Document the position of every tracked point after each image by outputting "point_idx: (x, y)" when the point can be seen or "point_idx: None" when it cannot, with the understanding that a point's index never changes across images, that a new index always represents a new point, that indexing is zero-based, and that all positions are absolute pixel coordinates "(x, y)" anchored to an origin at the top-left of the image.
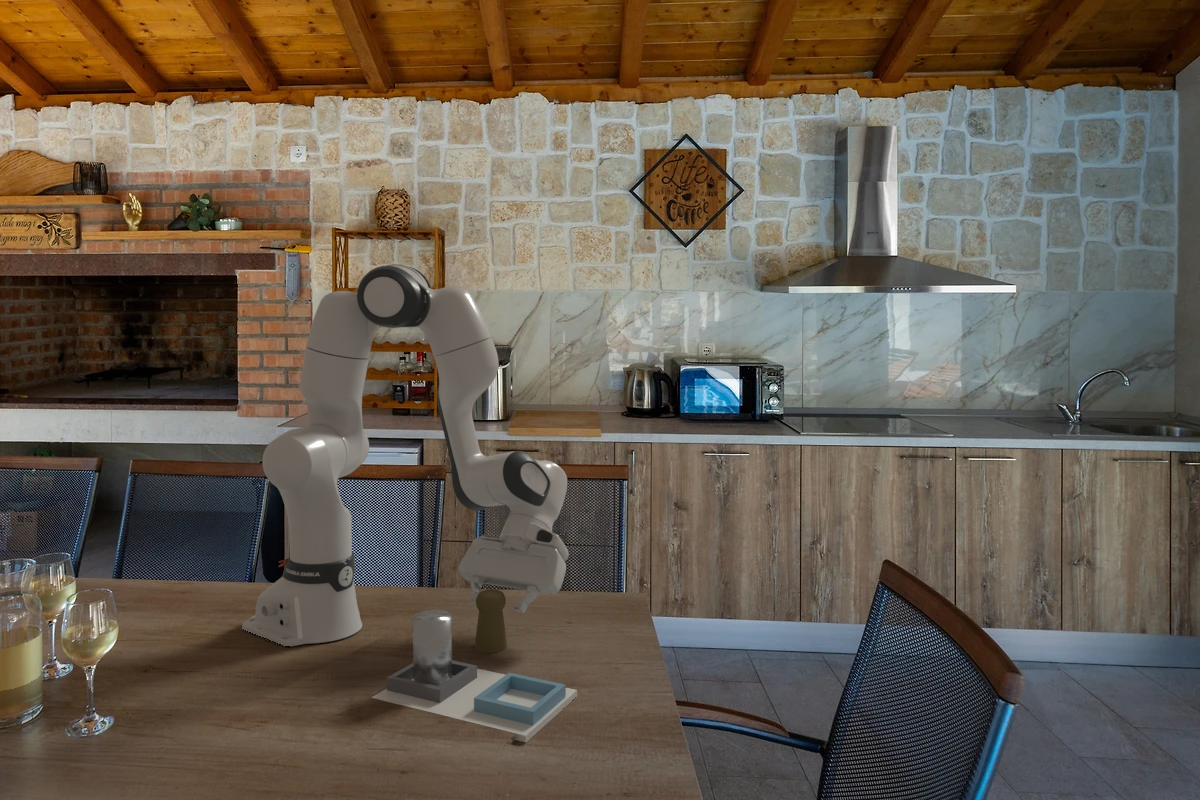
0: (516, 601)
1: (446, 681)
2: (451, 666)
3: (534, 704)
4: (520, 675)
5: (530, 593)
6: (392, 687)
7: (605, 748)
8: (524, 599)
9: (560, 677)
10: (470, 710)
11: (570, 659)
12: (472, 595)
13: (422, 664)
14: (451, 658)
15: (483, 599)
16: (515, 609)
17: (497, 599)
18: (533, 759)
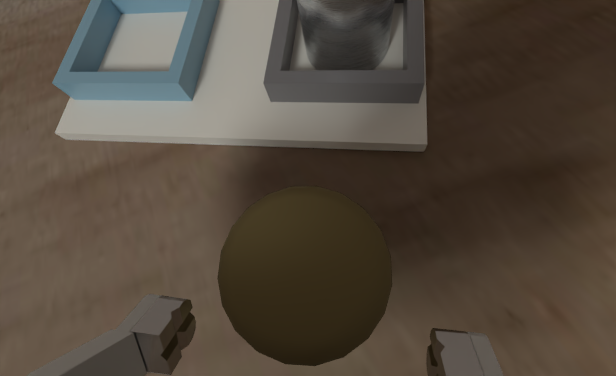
0: (168, 319)
1: (291, 2)
2: (301, 24)
3: (125, 57)
4: (149, 80)
5: (55, 361)
6: None
7: (20, 23)
8: (115, 330)
9: (108, 205)
10: (226, 1)
11: (96, 319)
12: (478, 351)
13: None
14: (298, 6)
15: (309, 187)
16: (191, 307)
17: (237, 220)
18: None
